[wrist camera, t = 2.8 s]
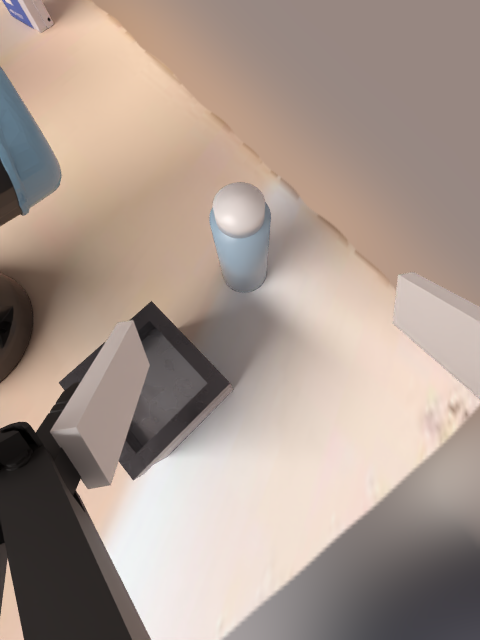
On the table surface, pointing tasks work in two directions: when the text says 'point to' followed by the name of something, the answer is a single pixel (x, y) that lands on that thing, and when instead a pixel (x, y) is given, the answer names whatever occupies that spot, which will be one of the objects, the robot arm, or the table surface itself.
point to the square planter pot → (164, 391)
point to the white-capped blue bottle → (241, 235)
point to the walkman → (30, 13)
